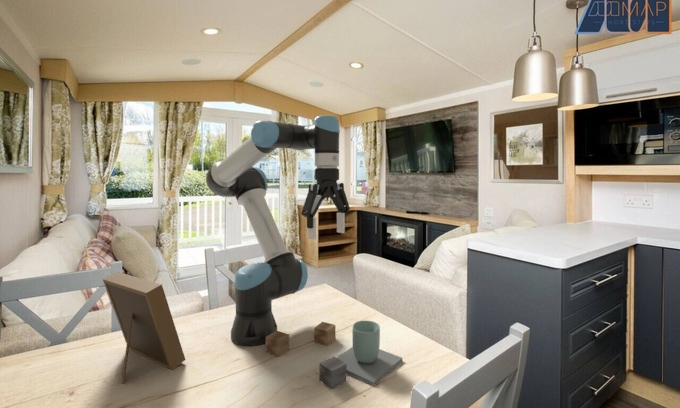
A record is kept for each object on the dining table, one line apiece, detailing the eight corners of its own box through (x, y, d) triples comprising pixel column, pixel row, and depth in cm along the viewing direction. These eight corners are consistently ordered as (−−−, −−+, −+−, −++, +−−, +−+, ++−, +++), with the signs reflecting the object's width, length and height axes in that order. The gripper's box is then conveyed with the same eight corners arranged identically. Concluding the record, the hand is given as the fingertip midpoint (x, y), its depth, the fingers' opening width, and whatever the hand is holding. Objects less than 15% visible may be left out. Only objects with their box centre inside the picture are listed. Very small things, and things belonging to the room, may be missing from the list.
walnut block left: (314, 342, 112) (314, 327, 111) (322, 336, 116) (322, 321, 115) (327, 346, 109) (327, 331, 109) (335, 339, 114) (335, 324, 113)
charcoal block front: (319, 380, 91) (319, 362, 91) (334, 373, 94) (334, 356, 94) (331, 389, 87) (331, 371, 87) (346, 382, 91) (346, 363, 90)
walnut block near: (265, 352, 105) (265, 337, 105) (276, 345, 110) (276, 330, 109) (278, 357, 103) (278, 341, 102) (289, 349, 107) (289, 334, 107)
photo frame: (142, 343, 110) (137, 267, 108) (185, 363, 99) (180, 278, 97) (89, 366, 98) (82, 280, 95) (132, 391, 87) (125, 295, 84)
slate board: (329, 365, 98) (329, 362, 98) (360, 344, 110) (360, 341, 110) (373, 385, 89) (373, 382, 89) (402, 361, 101) (402, 357, 100)
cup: (378, 368, 95) (378, 333, 94) (350, 365, 96) (350, 331, 95) (380, 354, 102) (381, 321, 101) (354, 351, 104) (354, 319, 103)
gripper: (307, 167, 95) (307, 243, 97) (360, 167, 114) (360, 231, 116) (288, 167, 99) (289, 240, 101) (342, 167, 119) (342, 229, 121)
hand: (327, 235), depth 109 cm, fingers open, 13 cm apart
